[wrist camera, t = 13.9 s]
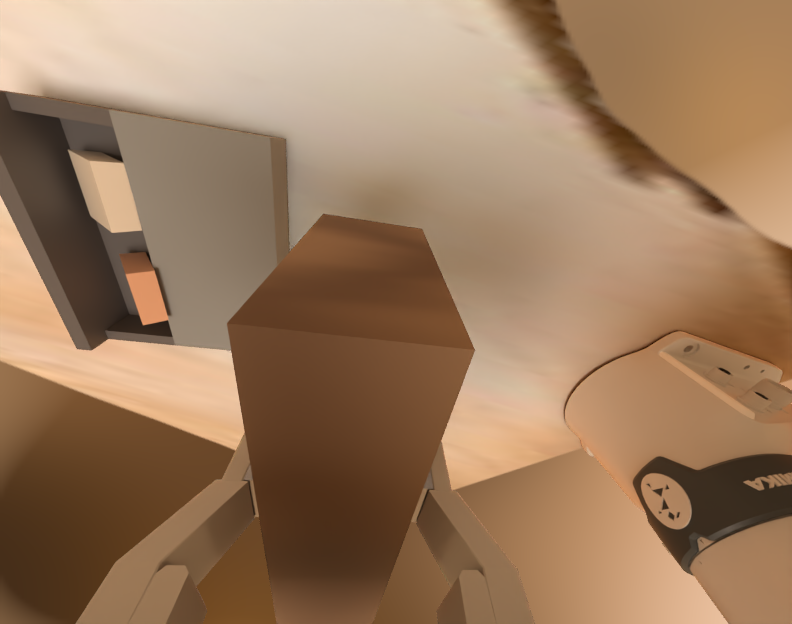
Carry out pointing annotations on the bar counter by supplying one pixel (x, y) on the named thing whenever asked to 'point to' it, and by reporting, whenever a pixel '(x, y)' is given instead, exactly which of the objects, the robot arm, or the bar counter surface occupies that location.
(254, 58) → the bar counter surface
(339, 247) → the long wooden plank
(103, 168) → the tile cream
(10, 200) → the grey tray with lip
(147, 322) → the tile terracotta
